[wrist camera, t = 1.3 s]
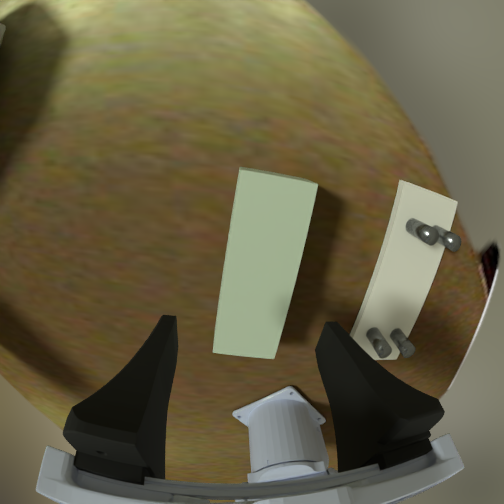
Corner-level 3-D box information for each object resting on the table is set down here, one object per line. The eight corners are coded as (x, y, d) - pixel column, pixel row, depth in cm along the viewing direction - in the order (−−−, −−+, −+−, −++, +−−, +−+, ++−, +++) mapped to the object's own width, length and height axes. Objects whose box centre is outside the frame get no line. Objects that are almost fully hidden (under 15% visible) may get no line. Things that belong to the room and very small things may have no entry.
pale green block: (269, 331, 26) (274, 358, 22) (215, 324, 25) (212, 352, 22) (304, 178, 21) (318, 184, 18) (239, 166, 21) (240, 169, 17)
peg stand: (393, 355, 28) (408, 377, 24) (340, 354, 27) (352, 380, 23) (452, 200, 22) (479, 209, 18) (399, 179, 21) (426, 187, 17)
